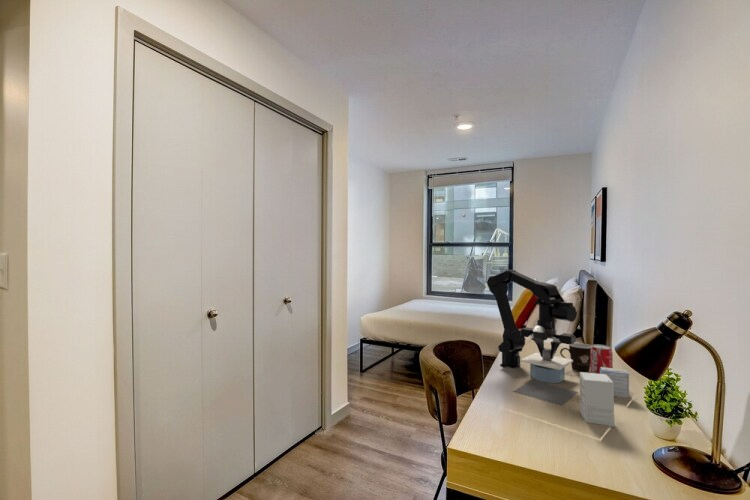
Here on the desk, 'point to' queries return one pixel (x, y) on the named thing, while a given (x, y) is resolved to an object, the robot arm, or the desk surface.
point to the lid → (547, 360)
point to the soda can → (600, 358)
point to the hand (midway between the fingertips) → (547, 357)
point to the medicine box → (618, 380)
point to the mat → (546, 392)
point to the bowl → (547, 374)
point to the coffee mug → (579, 356)
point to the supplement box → (597, 398)
